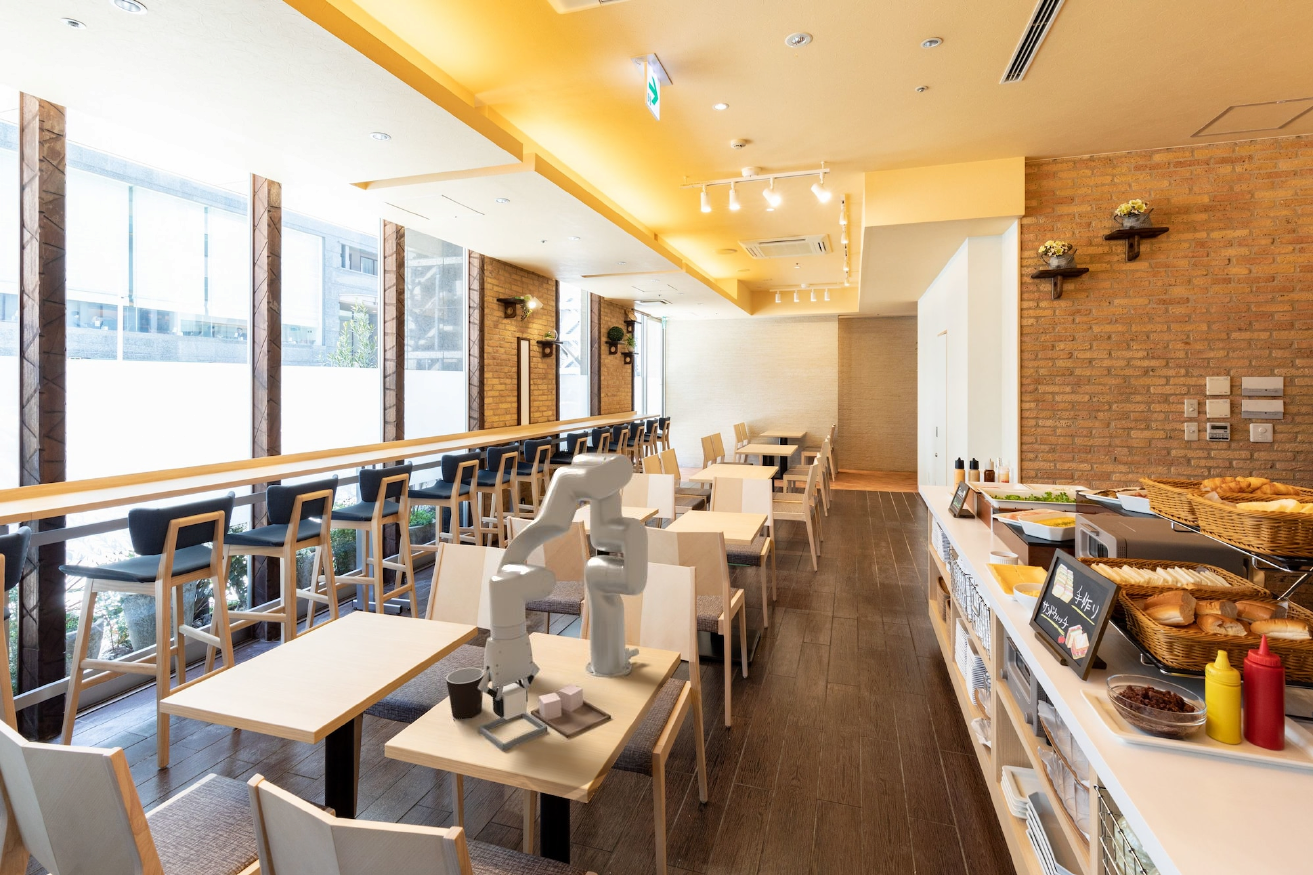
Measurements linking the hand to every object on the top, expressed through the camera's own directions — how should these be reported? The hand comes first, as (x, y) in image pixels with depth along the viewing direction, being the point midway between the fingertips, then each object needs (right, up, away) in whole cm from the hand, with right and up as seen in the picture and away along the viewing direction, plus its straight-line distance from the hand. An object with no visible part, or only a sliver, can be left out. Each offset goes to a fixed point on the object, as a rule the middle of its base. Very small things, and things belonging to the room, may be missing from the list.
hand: (510, 709), depth 140 cm
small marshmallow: (+7, -4, +8) cm, 12 cm away
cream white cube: (0, 0, 0) cm, 0 cm away
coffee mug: (-12, -6, +12) cm, 18 cm away
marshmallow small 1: (+12, -4, +12) cm, 17 cm away
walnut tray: (+12, -5, +7) cm, 15 cm away
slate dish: (0, -6, +1) cm, 6 cm away
